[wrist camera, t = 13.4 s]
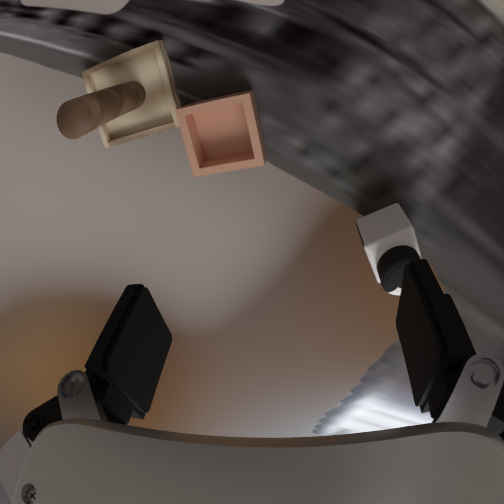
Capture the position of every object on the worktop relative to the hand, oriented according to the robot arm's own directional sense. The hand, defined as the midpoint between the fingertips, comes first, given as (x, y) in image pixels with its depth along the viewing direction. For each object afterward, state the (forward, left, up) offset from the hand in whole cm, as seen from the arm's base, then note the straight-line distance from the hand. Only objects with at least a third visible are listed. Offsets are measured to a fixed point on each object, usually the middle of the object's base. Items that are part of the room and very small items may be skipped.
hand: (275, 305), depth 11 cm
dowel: (-8, -18, -32) cm, 37 cm away
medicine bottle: (+18, +12, -32) cm, 39 cm away
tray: (-8, -19, -32) cm, 38 cm away
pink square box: (0, -8, -32) cm, 33 cm away
